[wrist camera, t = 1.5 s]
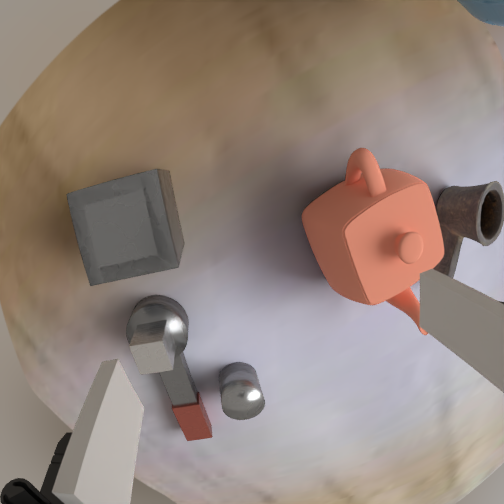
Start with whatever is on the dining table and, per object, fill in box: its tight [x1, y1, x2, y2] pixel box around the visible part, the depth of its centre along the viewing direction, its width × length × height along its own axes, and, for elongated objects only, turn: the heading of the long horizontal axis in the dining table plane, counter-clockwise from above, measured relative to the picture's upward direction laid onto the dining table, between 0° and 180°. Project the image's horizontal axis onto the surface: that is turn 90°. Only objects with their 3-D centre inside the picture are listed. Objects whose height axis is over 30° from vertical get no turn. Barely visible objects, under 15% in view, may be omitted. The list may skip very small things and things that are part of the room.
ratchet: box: [126, 295, 212, 441], centre depth 29 cm, size 19×6×7 cm, turn 10°
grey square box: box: [67, 169, 184, 286], centre depth 24 cm, size 7×7×8 cm
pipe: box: [433, 181, 504, 278], centre depth 30 cm, size 6×13×8 cm, turn 167°
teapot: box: [302, 148, 444, 335], centre depth 27 cm, size 12×18×10 cm, turn 27°
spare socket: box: [219, 362, 265, 420], centre depth 31 cm, size 4×4×5 cm
